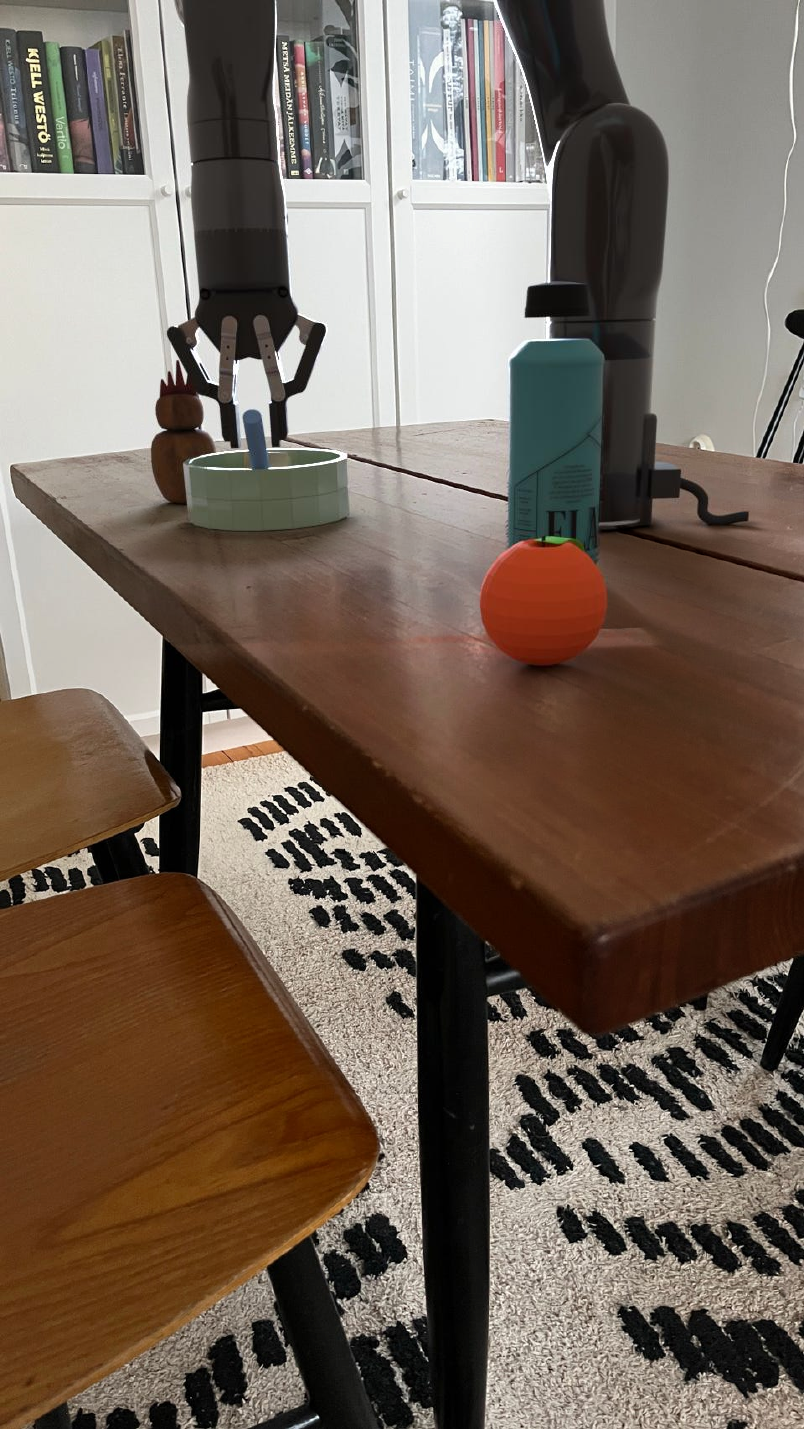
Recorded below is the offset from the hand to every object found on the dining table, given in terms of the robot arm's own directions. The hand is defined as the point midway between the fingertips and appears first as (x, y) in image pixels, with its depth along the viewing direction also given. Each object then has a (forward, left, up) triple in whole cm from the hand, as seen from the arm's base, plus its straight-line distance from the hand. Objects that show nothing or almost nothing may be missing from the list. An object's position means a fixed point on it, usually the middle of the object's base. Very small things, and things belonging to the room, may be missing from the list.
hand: (256, 445), depth 91 cm
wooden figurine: (+10, -22, -8) cm, 26 cm away
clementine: (-19, +38, -8) cm, 43 cm away
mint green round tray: (0, -8, -8) cm, 11 cm away
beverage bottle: (-22, +22, -8) cm, 32 cm away
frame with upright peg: (0, -3, -5) cm, 6 cm away
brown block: (0, -7, -6) cm, 9 cm away
